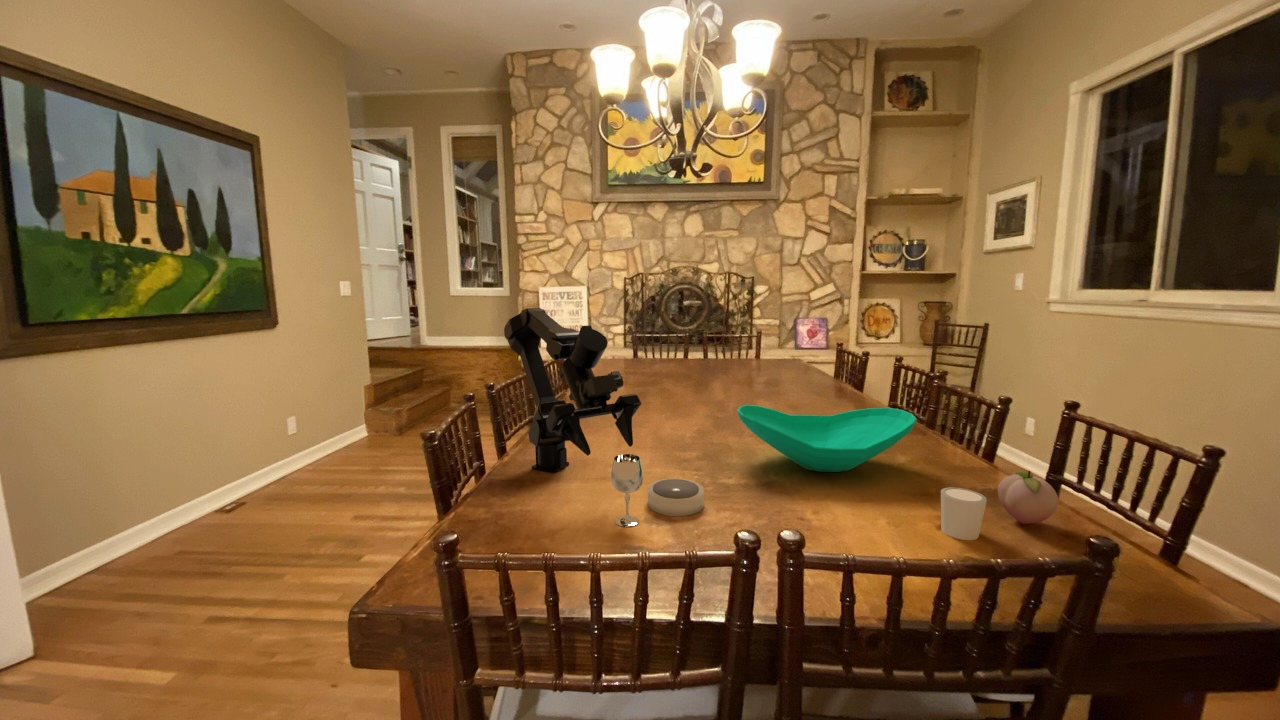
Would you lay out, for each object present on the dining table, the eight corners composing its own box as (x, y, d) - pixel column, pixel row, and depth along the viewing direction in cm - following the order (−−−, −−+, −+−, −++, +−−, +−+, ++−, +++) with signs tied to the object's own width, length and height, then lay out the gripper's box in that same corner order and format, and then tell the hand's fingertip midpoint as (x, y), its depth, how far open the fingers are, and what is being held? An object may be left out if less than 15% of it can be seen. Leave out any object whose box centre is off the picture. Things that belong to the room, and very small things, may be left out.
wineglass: (639, 530, 93) (639, 465, 91) (607, 527, 94) (607, 462, 92) (645, 516, 98) (646, 454, 96) (615, 513, 99) (615, 452, 98)
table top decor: (742, 487, 112) (744, 426, 110) (730, 446, 139) (731, 397, 137) (937, 493, 109) (942, 431, 107) (885, 450, 136) (889, 400, 134)
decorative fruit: (1066, 538, 90) (1073, 482, 89) (1013, 534, 92) (1019, 479, 90) (1035, 514, 99) (1042, 463, 98) (988, 510, 101) (993, 460, 99)
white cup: (928, 524, 95) (931, 487, 94) (964, 522, 96) (968, 486, 95) (954, 542, 89) (957, 503, 87) (992, 541, 89) (996, 502, 88)
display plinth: (638, 509, 101) (638, 492, 101) (661, 488, 111) (661, 473, 110) (692, 520, 96) (692, 503, 96) (711, 498, 106) (711, 482, 106)
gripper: (550, 362, 96) (580, 436, 88) (636, 354, 106) (669, 419, 99) (534, 397, 103) (560, 467, 96) (616, 386, 114) (645, 449, 106)
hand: (610, 449), depth 99 cm, fingers open, 9 cm apart
